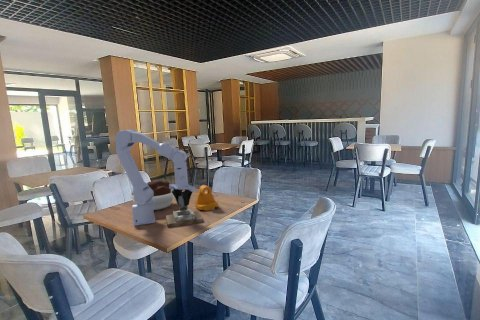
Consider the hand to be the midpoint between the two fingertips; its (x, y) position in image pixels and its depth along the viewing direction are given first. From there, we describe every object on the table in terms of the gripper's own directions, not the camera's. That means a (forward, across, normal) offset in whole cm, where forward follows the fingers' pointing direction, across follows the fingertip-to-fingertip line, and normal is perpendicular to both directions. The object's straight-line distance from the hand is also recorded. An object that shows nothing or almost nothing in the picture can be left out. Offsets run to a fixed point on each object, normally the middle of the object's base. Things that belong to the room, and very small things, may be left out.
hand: (183, 204), depth 122 cm
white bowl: (+8, -28, +8) cm, 30 cm away
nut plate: (+8, 0, 0) cm, 8 cm away
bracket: (+8, -1, +19) cm, 21 cm away
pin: (+2, 0, 0) cm, 2 cm away
